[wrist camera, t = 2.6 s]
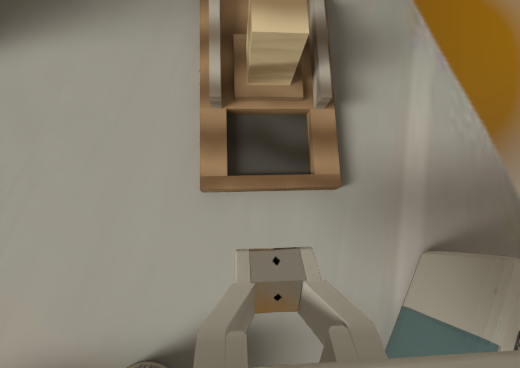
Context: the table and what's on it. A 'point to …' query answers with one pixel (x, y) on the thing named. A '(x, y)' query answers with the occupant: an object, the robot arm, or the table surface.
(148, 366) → the canned food
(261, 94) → the wood block
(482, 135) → the table surface
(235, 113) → the track
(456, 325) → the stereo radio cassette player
